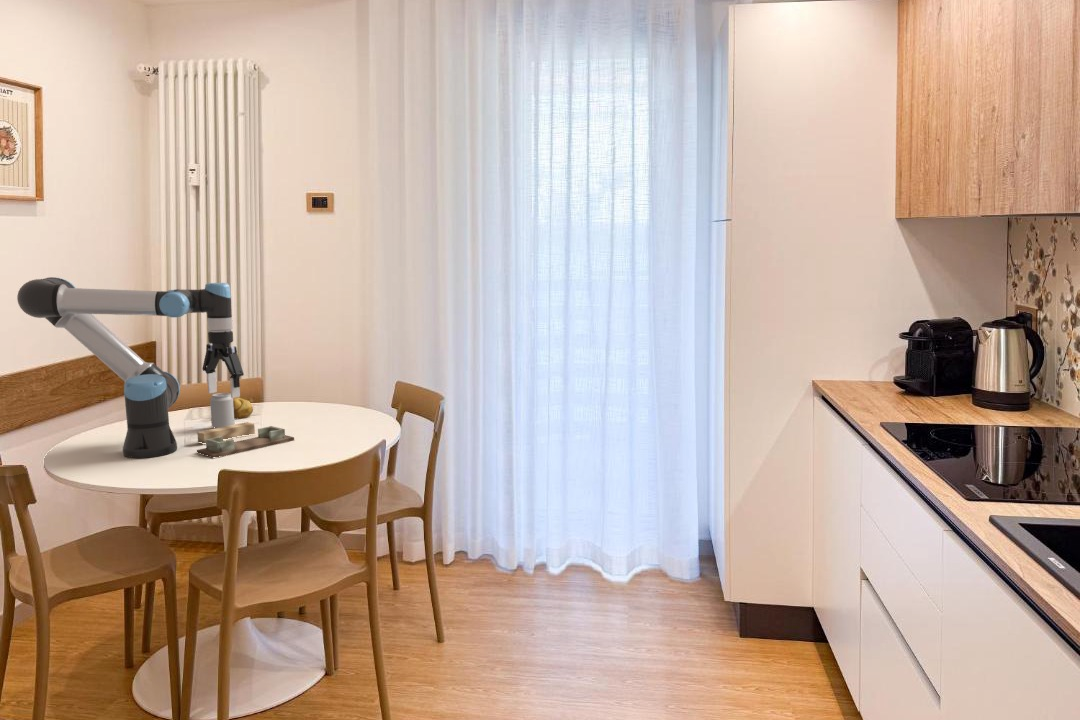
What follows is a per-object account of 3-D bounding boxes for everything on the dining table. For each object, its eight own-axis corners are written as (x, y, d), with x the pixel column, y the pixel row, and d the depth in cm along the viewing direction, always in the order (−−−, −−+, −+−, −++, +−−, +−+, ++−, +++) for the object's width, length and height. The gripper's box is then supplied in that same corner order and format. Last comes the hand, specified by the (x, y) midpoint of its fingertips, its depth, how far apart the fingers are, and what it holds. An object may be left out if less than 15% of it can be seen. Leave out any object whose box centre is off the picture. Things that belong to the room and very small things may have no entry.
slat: (204, 445, 260) (203, 433, 259) (198, 444, 262) (197, 431, 261) (254, 435, 273) (254, 423, 273) (248, 433, 276) (247, 422, 275)
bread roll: (222, 414, 306) (221, 393, 305) (249, 411, 311) (248, 391, 310) (227, 421, 295) (225, 399, 294) (255, 418, 299) (253, 396, 298)
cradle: (214, 458, 243) (213, 445, 242) (196, 453, 249) (195, 440, 249) (294, 440, 265) (293, 428, 264) (276, 435, 271) (275, 424, 270)
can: (238, 425, 287) (236, 392, 285) (228, 430, 280) (226, 396, 278) (218, 425, 288) (216, 391, 286) (207, 429, 280) (205, 395, 279)
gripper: (252, 332, 258) (256, 397, 261) (210, 327, 273) (213, 389, 276) (231, 334, 252) (235, 401, 255) (189, 329, 267) (192, 392, 270)
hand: (223, 395), depth 266 cm, fingers open, 13 cm apart
